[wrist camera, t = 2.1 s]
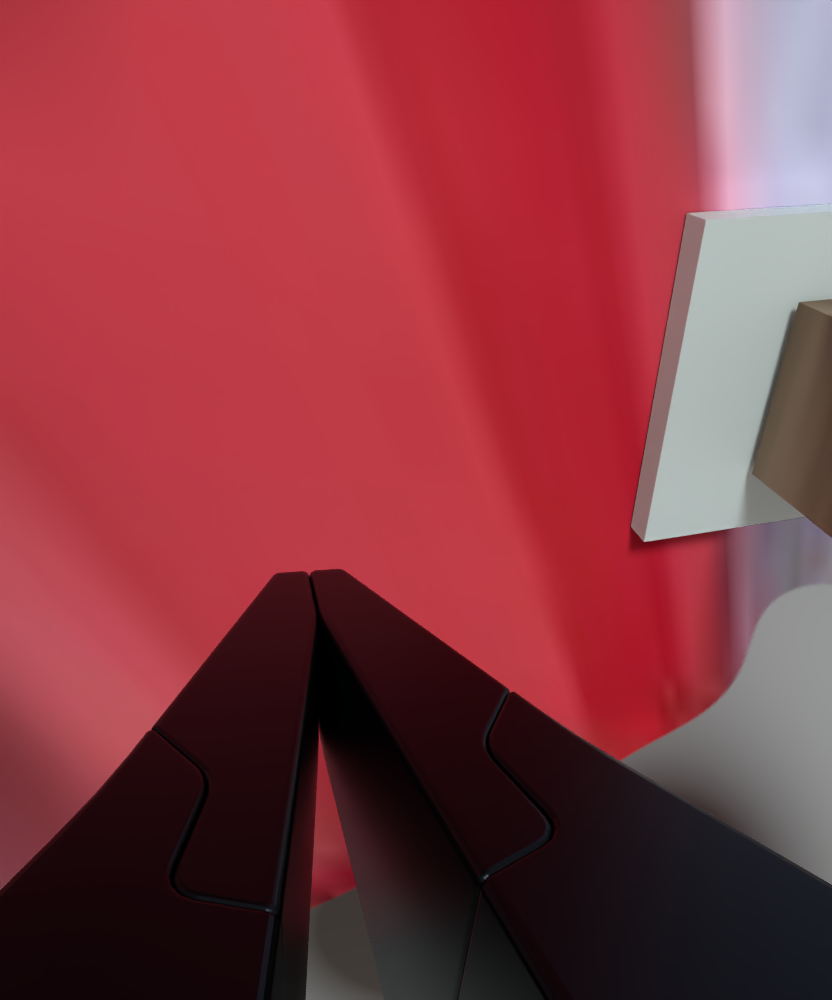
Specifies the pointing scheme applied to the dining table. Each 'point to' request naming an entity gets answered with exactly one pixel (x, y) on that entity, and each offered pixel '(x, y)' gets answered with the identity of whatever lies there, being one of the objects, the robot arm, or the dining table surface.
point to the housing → (726, 366)
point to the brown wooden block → (802, 419)
